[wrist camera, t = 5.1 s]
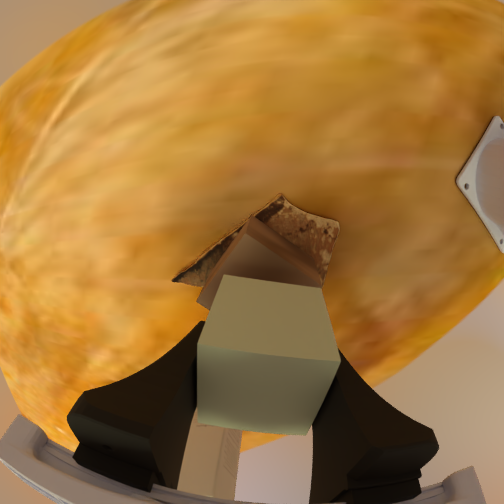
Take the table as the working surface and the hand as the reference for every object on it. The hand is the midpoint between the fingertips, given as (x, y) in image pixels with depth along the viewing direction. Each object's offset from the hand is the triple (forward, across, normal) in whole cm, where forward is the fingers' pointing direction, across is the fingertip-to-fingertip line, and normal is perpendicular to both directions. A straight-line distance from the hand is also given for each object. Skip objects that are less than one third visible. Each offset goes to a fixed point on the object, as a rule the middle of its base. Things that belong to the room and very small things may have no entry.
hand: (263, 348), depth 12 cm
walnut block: (+8, +1, 0) cm, 8 cm away
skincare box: (+9, +3, +16) cm, 19 cm away
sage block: (+2, 0, 0) cm, 2 cm away
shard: (+10, 0, 0) cm, 10 cm away
